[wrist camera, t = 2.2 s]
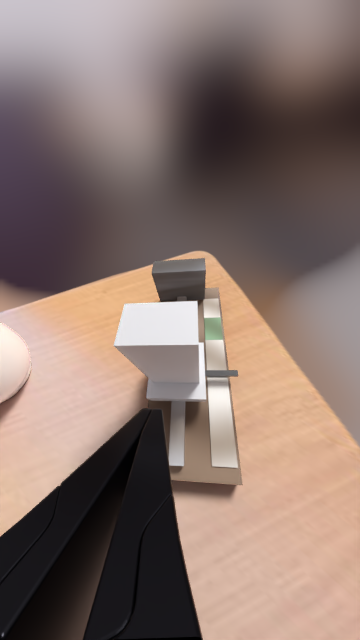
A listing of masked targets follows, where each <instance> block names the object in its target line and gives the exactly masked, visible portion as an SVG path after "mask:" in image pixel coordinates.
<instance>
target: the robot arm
mask: <svg viewBox="0 0 360 640" xmlns="http://www.w3.org/2000/svg"><path fill="white" fill-rule="evenodd" d="M0 640H203V638H202V633H201V629H200V625H199V621H198V616H197V612H196V608H195V604H194V599H193V595H192V591H191V587H190V582H189V578H188V574H187V569H186V565H185V560H184V555H183V550H182V546H181V541H180V535H179V529H178V523H177V517H176V510H175V502H174V496H173V488H172V481H171V473H170V466H169V458H168V450H167V443H166V435H165V428H164V420H163V412H162V409H153V410H152V409H148V408H144V409H142V410H141V411H139V412H138V413H137V414H136V415H135V416H134V417H133V418H132V419H131V420H130V421H129V422H127V423H126V424H125V425H124V426H123V427H122V428H121V429H120V430H119V431H118V432H116V433H115V434H114V435H113V436H112V437H111V438H110V439H109V440H108V441H107V442H106V443H104V444H103V445H102V446H101V447H100V448H99V449H98V450H97V451H96V452H95V453H94V454H92V455H91V456H90V457H89V458H88V459H87V460H86V461H85V462H84V463H83V464H82V465H80V466H79V467H78V468H77V469H76V470H75V471H74V472H73V473H72V474H71V475H70V476H68V477H67V478H66V479H65V480H64V481H63V482H62V483H61V485H60V486H57V487H56V488H55V489H54V490H53V491H52V492H51V493H50V494H49V495H48V496H47V497H45V498H44V499H43V500H42V501H41V502H40V503H39V504H38V505H36V506H35V507H34V508H33V509H32V510H31V511H30V512H29V513H27V514H26V515H25V516H24V517H23V518H22V519H21V520H20V521H18V522H17V523H16V524H15V525H14V526H12V527H11V528H10V529H9V530H8V531H6V532H5V533H4V534H3V535H2V536H1V537H0Z"/></svg>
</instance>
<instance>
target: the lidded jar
mask: <svg viewBox="0 0 360 640" xmlns="http://www.w3.org/2000/svg"><path fill="white" fill-rule="evenodd" d="M30 372H31V361H30V351H29V348H28V346H27V344H26V343H25V341H24V340H23V339H22V337H21V336H20V335H18V334H17V333H16V332H15V331H14V330H12V329H11V328H10V327H8V326H6V325H5V324H3V323H1V322H0V403H2V402H4V401H6V400H8V399H9V398H11V397H12V396H13V395H15V394H16V393H17V392H18V391H19V390H20V389H21V388H22V387H23V385H24V384H25V382H26V381H27V379H28V377H29V375H30Z"/></svg>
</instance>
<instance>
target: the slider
mask: <svg viewBox="0 0 360 640" xmlns="http://www.w3.org/2000/svg"><path fill="white" fill-rule="evenodd" d="M114 346H115V347H116V348H117V349H118V350H119V351H120V352H121V353H122V354H123V355H124V356H125V357H126V358H127V359H129V360H130V361H131V362H132V363H133V364H134V365H135V366H136V367H137V368H138V369H139V370H140V371H142V372H143V373H144V374H145V375H146V376H147V377H148V386H147V394H146V398H147V399H149V400H151V401H191V402H206V384H205V376H236V377H238V371H237V370H205V362H204V343H199V339H198V305H197V301H183V302H157V303H132V304H124V308H123V312H122V316H121V320H120V324H119V327H118V331H117V335H116V339H115V343H114Z"/></svg>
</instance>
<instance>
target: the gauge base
mask: <svg viewBox="0 0 360 640" xmlns="http://www.w3.org/2000/svg"><path fill="white" fill-rule="evenodd" d="M205 274H206V269H205V258H201V259H185V260H170V261H156V262H154V263H153V268H152V276H153V279H154V282H155V285H156V289H157V292H158V295H159V298H160V301H161V302H183V301H197V305H198V339H199V343H204V362H205V370H228V361H227V353H226V345H225V337H224V328H223V320H222V312H221V304H220V296H219V288H205ZM205 384H206V402H191V401H151V400H149V402H148V409H152V410H153V409H162V412H163V420H164V428H165V435H166V443H167V450H168V458H169V466H170V473H171V480H177V481H191V482H205V483H218V484H232V485H242V477H241V469H240V460H239V452H238V444H237V436H236V427H235V419H234V411H233V403H232V394H231V386H230V378H229V376H205Z"/></svg>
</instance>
